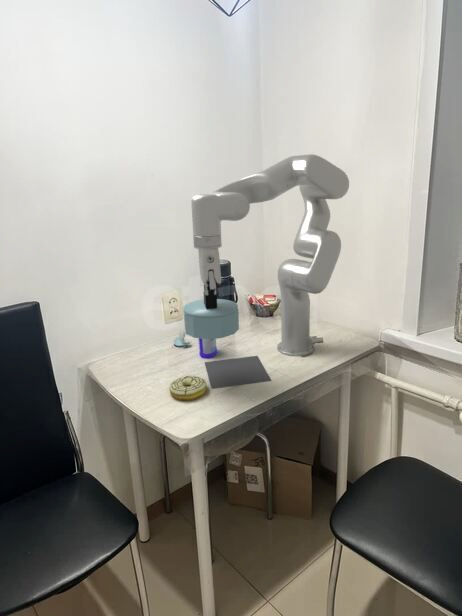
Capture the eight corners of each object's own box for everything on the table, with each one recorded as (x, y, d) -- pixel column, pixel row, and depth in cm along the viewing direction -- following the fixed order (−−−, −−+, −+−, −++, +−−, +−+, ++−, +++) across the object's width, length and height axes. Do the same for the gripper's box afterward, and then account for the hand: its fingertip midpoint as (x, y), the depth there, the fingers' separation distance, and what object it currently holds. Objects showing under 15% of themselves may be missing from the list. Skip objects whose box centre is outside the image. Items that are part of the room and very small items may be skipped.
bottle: (213, 360, 138) (210, 311, 133) (197, 359, 139) (193, 310, 134) (218, 351, 145) (215, 304, 139) (203, 350, 146) (199, 303, 140)
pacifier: (179, 352, 146) (193, 347, 150) (177, 336, 144) (191, 331, 147) (168, 346, 151) (182, 341, 155) (166, 331, 149) (180, 326, 153)
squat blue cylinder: (233, 318, 127) (232, 282, 124) (243, 336, 113) (242, 296, 109) (183, 322, 125) (180, 286, 122) (186, 341, 110) (184, 301, 107)
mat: (257, 356, 139) (257, 355, 139) (271, 381, 122) (271, 380, 122) (204, 363, 136) (204, 362, 136) (211, 390, 119) (211, 388, 119)
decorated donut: (191, 380, 126) (190, 369, 125) (214, 392, 118) (213, 380, 117) (162, 394, 119) (161, 382, 118) (185, 407, 112) (184, 395, 110)
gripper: (226, 245, 104) (228, 314, 110) (217, 236, 120) (219, 297, 125) (196, 247, 103) (200, 316, 108) (191, 238, 118) (194, 299, 124)
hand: (210, 305), depth 117 cm, fingers closed on squat blue cylinder, 3 cm apart
